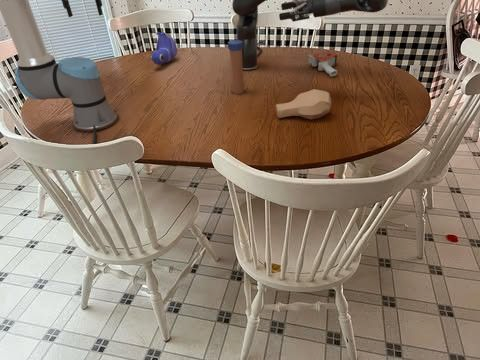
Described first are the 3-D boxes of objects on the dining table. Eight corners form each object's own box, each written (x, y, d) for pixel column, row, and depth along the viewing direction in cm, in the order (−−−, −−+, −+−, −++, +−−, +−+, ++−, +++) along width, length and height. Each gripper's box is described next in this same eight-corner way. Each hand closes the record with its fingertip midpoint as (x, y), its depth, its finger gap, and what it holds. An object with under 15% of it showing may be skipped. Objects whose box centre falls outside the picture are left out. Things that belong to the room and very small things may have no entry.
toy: (165, 64, 197) (145, 70, 175) (161, 31, 190) (139, 33, 168) (182, 63, 195) (163, 69, 172) (178, 30, 188) (158, 32, 166)
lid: (243, 49, 138) (243, 43, 136) (228, 51, 137) (228, 44, 136) (242, 45, 142) (241, 39, 141) (227, 46, 142) (227, 40, 140)
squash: (335, 120, 125) (335, 98, 118) (278, 130, 127) (276, 109, 120) (328, 102, 132) (328, 81, 126) (275, 112, 134) (272, 92, 128)
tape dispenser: (333, 81, 157) (348, 64, 170) (335, 70, 154) (350, 54, 166) (297, 74, 164) (314, 58, 177) (297, 63, 161) (315, 47, 174)
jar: (244, 93, 148) (241, 44, 137) (233, 94, 148) (229, 45, 137) (243, 89, 152) (240, 41, 141) (232, 90, 152) (228, 42, 140)
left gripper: (102, -44, 147) (116, 12, 160) (44, -40, 148) (61, 15, 160) (96, -42, 141) (111, 15, 153) (35, -38, 142) (54, 19, 154)
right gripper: (327, 23, 121) (280, 31, 126) (327, 6, 130) (283, 13, 135) (326, 0, 116) (276, 9, 120) (326, -16, 125) (280, -7, 130)
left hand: (85, 15), depth 157 cm, fingers open, 13 cm apart
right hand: (280, 11), depth 128 cm, fingers open, 8 cm apart
